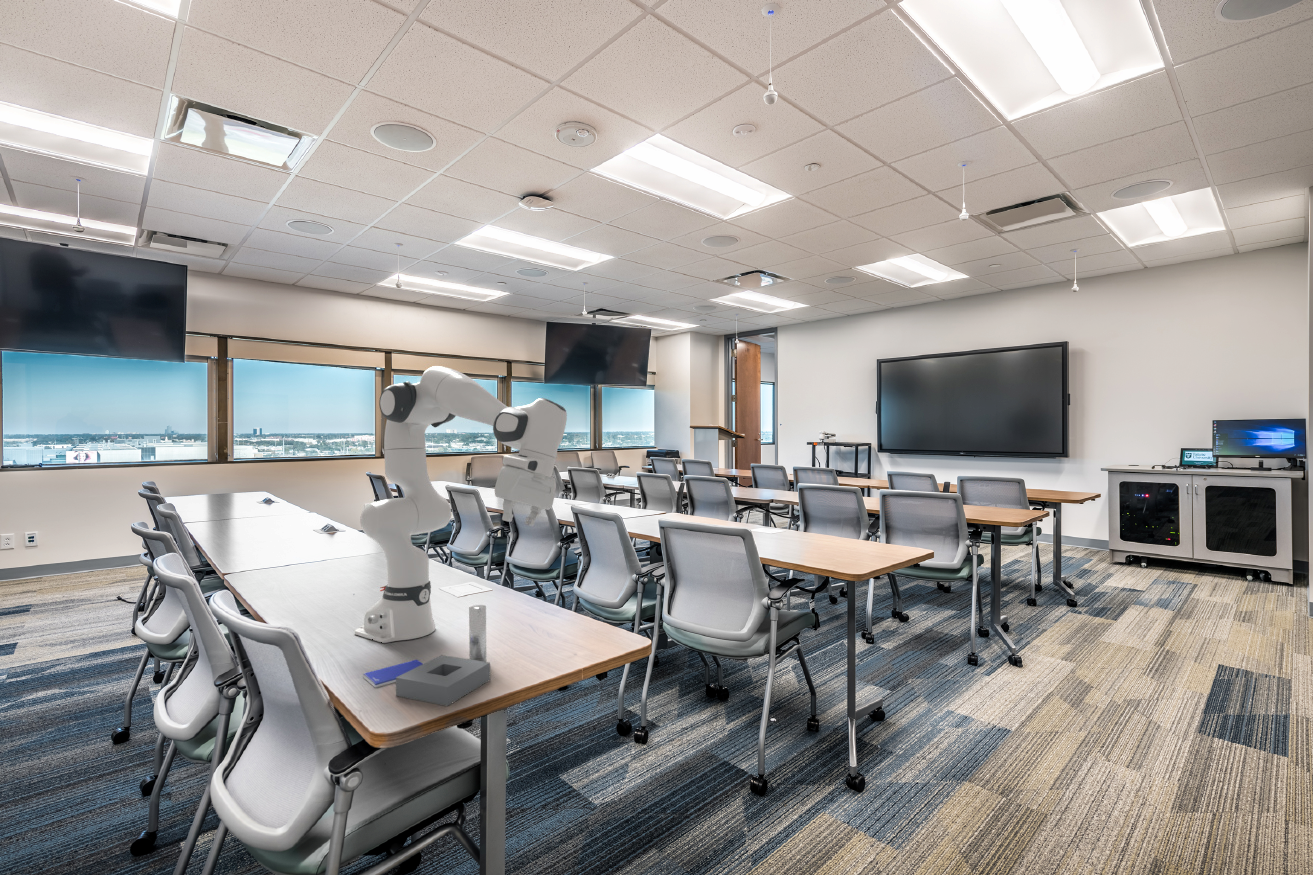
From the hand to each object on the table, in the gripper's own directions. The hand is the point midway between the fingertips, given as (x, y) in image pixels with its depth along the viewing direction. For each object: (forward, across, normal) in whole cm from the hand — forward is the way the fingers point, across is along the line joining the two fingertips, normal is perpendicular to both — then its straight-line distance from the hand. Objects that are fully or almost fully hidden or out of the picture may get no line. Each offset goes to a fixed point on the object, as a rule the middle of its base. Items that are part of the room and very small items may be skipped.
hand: (518, 523), depth 135 cm
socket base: (+39, +1, -6) cm, 40 cm away
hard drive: (+42, -2, -21) cm, 47 cm away
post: (+36, -13, -8) cm, 39 cm away
